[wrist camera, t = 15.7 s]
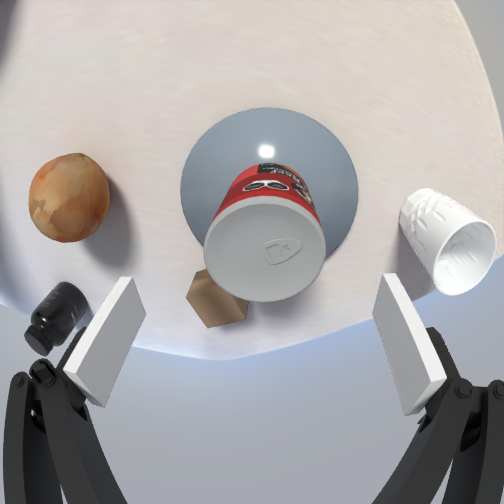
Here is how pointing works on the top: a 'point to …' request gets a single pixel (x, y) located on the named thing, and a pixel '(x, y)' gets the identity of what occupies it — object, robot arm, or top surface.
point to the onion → (69, 198)
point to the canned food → (265, 236)
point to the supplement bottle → (55, 318)
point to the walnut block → (214, 302)
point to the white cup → (448, 240)
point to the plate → (271, 151)
